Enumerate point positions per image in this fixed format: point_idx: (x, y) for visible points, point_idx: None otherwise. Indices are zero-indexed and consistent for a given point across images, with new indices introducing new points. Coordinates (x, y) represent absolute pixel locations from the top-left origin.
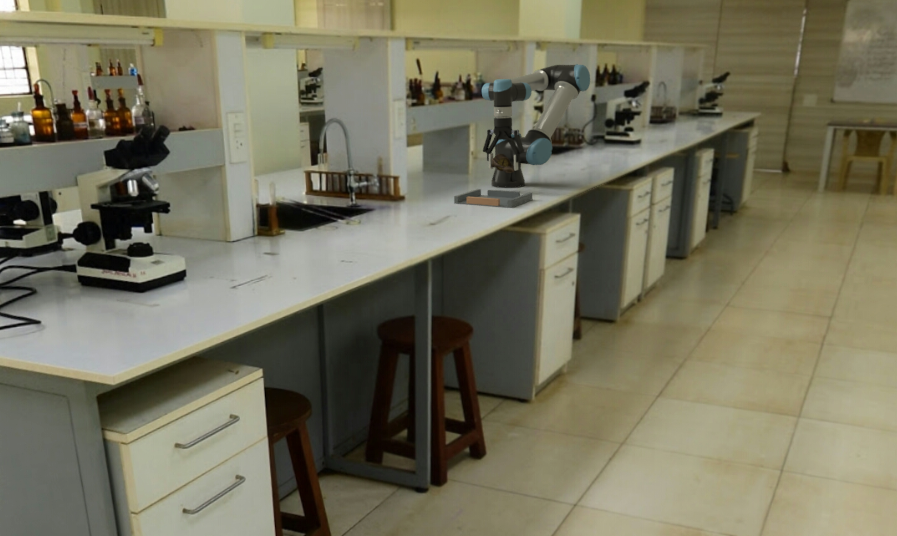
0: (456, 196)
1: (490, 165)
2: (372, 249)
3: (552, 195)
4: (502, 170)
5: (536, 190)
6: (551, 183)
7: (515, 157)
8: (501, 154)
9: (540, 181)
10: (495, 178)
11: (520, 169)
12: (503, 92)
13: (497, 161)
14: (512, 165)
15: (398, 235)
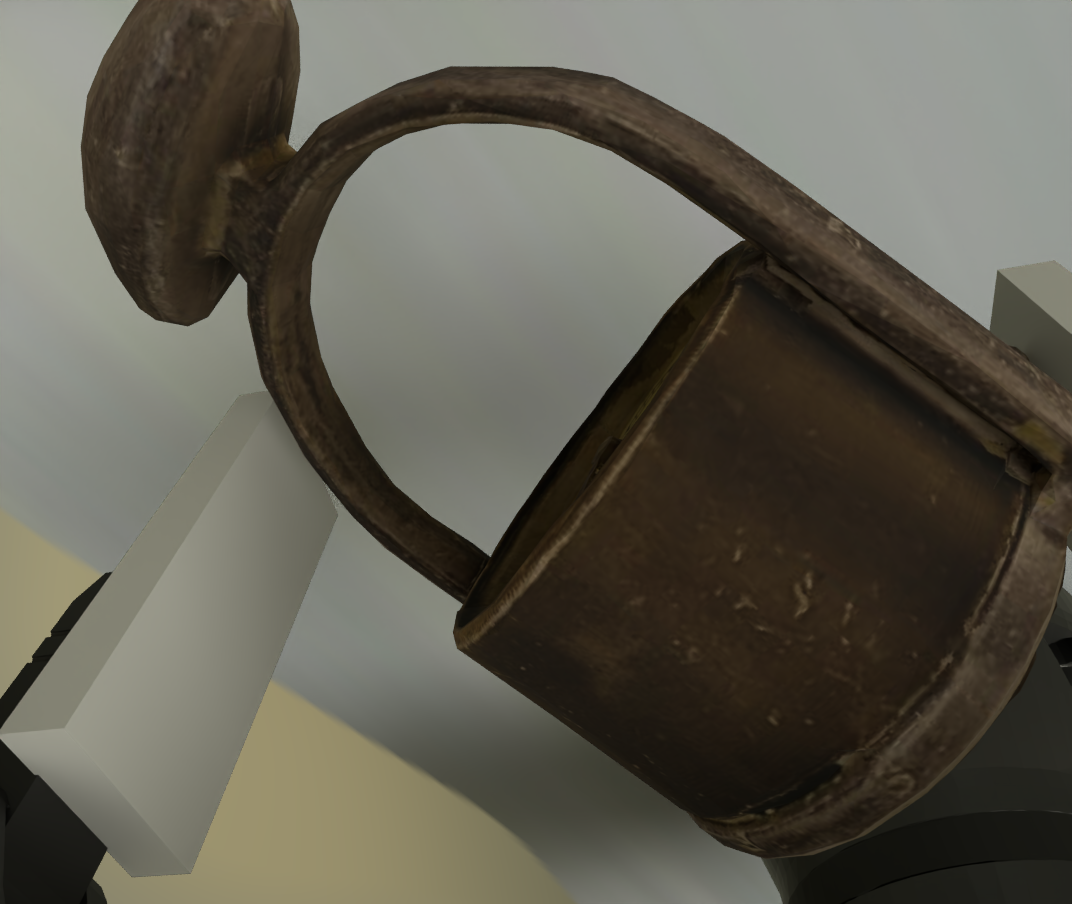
0: None
1: (1054, 319)
2: None
3: (23, 431)
4: (634, 366)
5: (420, 590)
6: (566, 867)
7: (58, 657)
8: (787, 777)
9: (706, 895)
10: (1044, 649)
11: (778, 889)
12: None
13: (718, 310)
14: (405, 552)
15: None
